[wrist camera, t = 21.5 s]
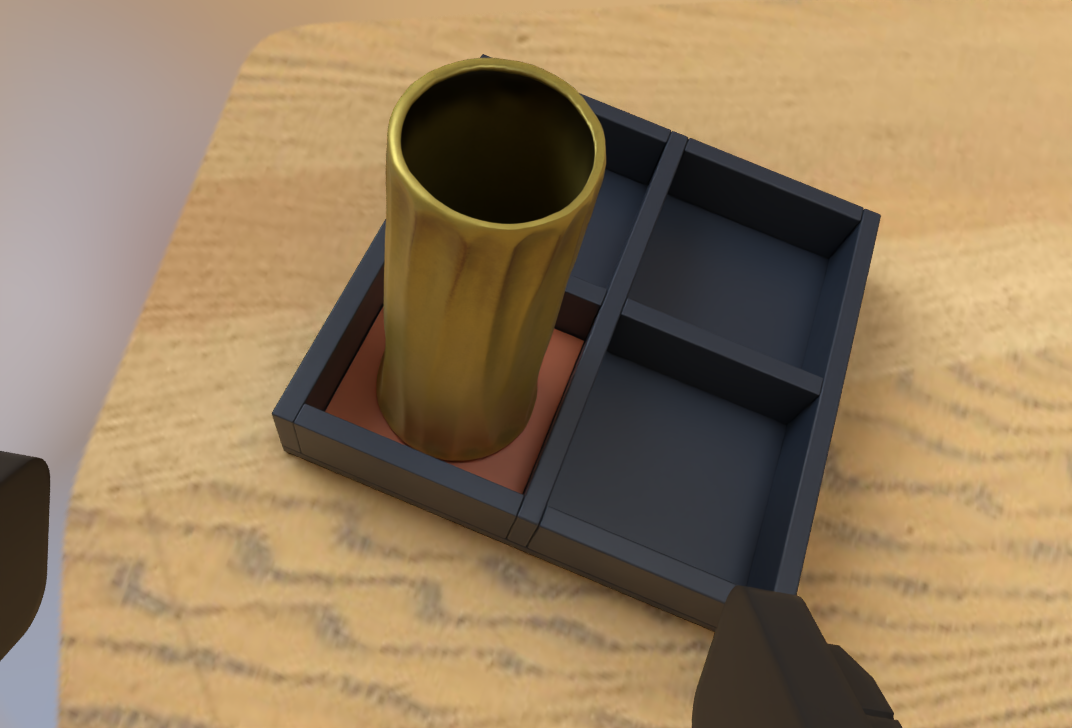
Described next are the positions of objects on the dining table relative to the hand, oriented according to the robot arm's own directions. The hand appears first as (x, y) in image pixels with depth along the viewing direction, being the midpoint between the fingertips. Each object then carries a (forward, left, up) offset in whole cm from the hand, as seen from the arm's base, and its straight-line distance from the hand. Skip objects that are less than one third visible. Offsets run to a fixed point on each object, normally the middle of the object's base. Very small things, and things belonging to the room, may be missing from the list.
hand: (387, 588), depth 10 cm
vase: (-2, +11, -20) cm, 23 cm away
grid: (+2, +16, -20) cm, 26 cm away
